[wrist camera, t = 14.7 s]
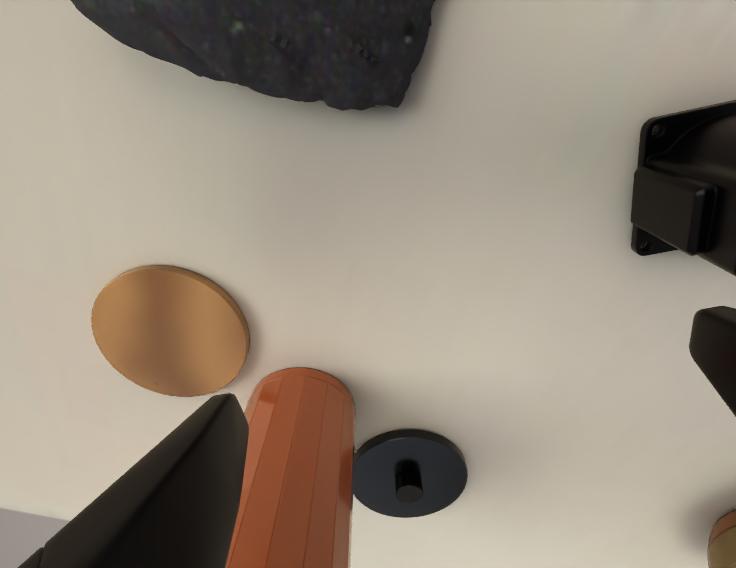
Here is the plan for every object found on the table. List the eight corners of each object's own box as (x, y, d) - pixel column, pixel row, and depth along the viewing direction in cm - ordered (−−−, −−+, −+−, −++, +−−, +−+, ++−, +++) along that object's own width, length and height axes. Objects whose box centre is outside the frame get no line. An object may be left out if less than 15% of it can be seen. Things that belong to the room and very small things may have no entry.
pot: (293, 348, 24) (227, 589, 12) (377, 407, 26) (384, 660, 14) (229, 411, 26) (123, 665, 15) (310, 461, 28) (271, 717, 17)
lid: (458, 420, 26) (464, 443, 25) (470, 500, 30) (476, 525, 28) (337, 439, 27) (335, 462, 25) (363, 515, 30) (362, 539, 29)
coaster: (217, 250, 21) (213, 255, 20) (268, 377, 25) (266, 384, 24) (68, 281, 22) (60, 286, 21) (139, 400, 25) (134, 407, 25)
